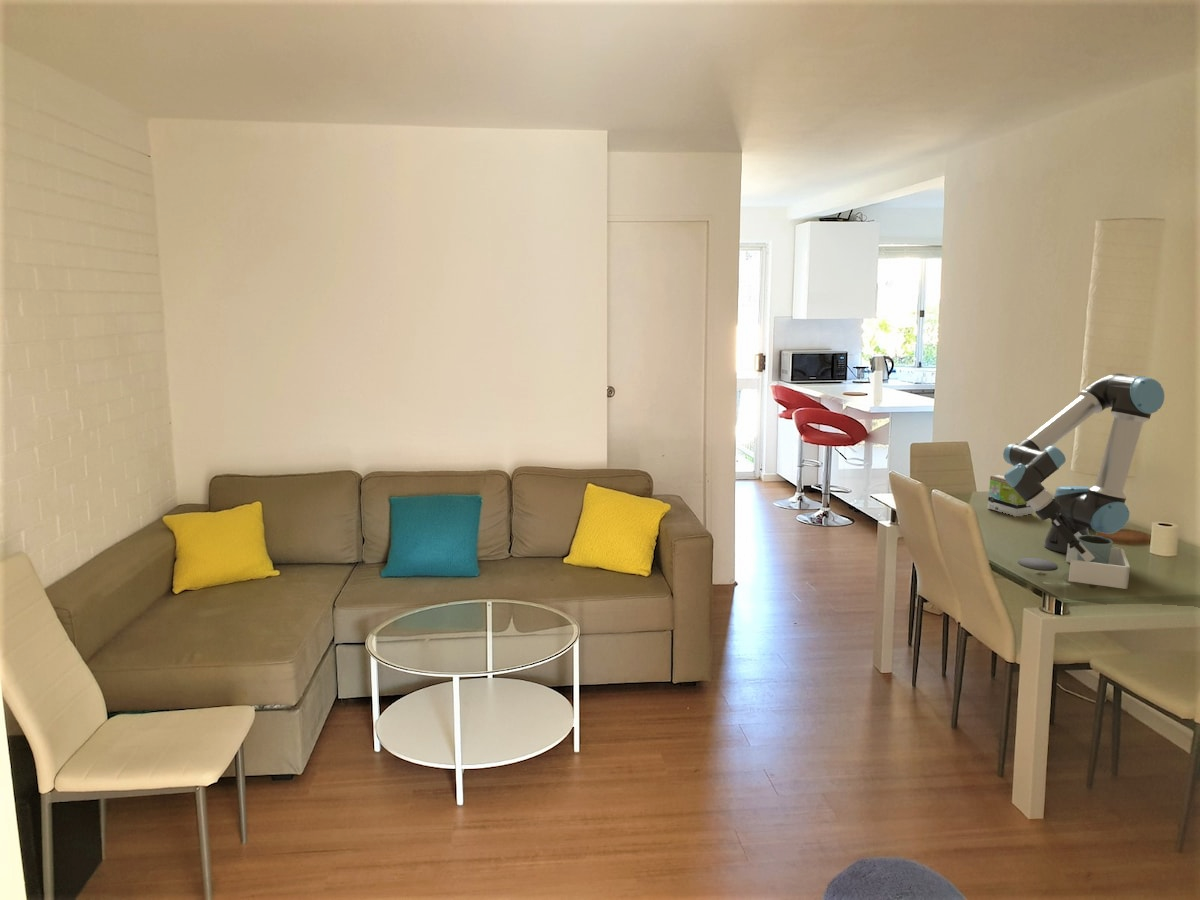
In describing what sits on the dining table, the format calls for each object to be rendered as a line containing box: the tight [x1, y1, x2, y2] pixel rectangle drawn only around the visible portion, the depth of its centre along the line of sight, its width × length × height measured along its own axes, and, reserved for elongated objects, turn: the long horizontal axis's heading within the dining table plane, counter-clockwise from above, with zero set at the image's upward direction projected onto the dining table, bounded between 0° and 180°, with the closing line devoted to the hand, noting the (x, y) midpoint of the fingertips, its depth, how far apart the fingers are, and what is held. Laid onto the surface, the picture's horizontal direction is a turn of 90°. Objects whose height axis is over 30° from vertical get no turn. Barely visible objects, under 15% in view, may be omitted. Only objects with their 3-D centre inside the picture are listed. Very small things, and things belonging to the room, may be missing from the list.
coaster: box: [1017, 557, 1058, 571], centre depth 299 cm, size 12×12×1 cm
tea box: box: [987, 473, 1034, 517], centre depth 367 cm, size 15×10×15 cm
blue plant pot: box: [1077, 534, 1113, 564], centre depth 288 cm, size 10×10×12 cm
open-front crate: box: [1065, 543, 1131, 590], centre depth 288 cm, size 23×16×7 cm
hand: (1089, 554), depth 288 cm, fingers open, 13 cm apart
